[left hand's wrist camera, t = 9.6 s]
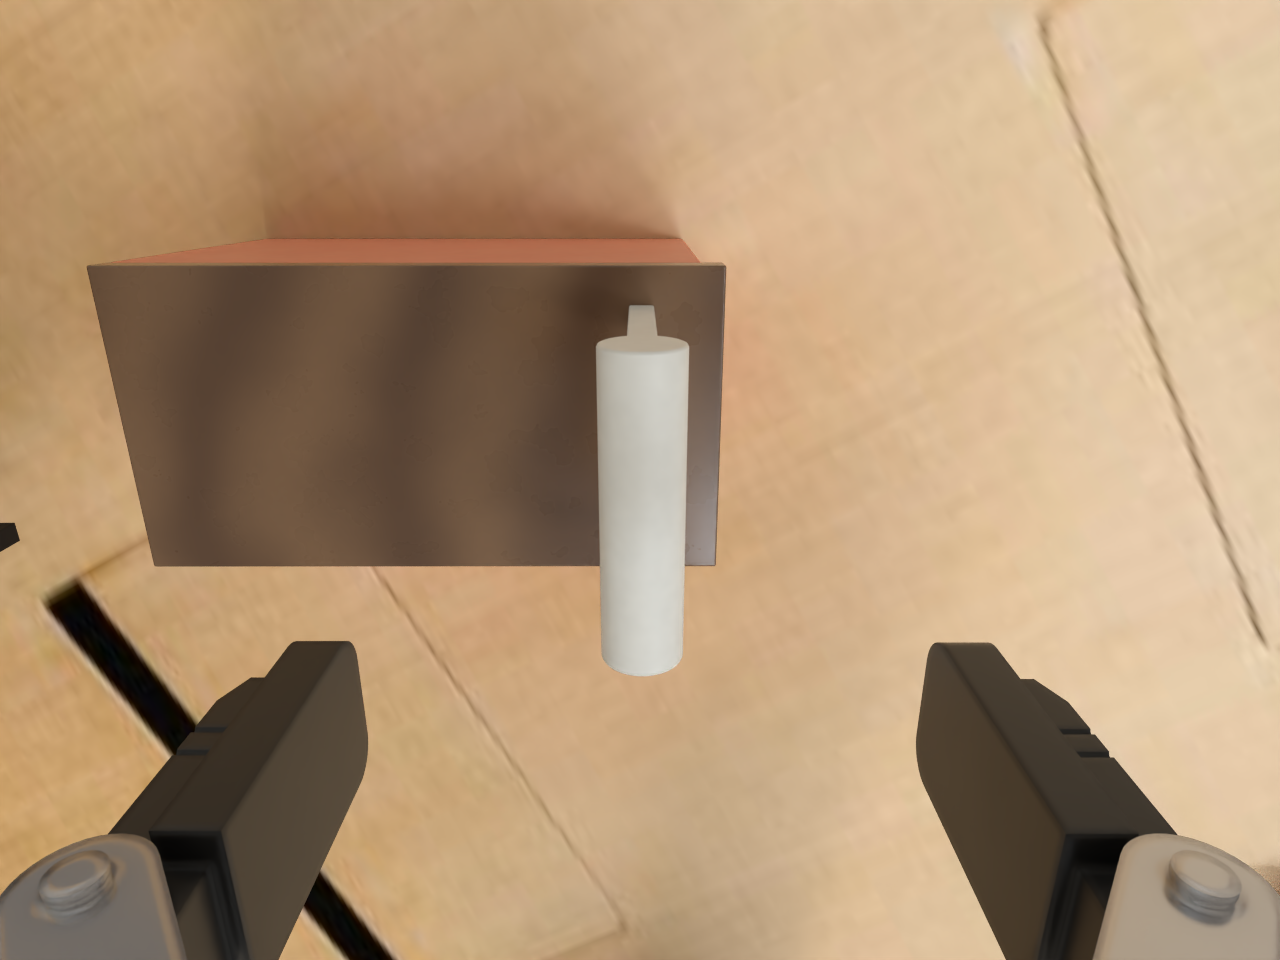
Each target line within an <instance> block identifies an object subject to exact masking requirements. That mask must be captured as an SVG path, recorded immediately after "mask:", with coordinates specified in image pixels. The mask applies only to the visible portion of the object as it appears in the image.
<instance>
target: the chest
mask: <svg viewBox="0 0 1280 960" xmlns="http://www.w3.org/2000/svg"><path fill="white" fill-rule="evenodd" d="M111 263H700V261H699V260H698V259H697V258H696V256H695V255H694V254H693V252H692V251H691V250H690V249H689V247H688V246H687V245H686V243H685V242H684V241H683V240H682V239H263V240H256V241H249V242H242V243H236V244H229V245H222V246H216V247H209V248H202V249H196V250H189V251H182V252H176V253H169V254H162V255H156V256H149V257H142V258H136V259H129V260H122V261H116V262H111Z"/></svg>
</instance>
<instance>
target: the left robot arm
mask: <svg viewBox="0 0 1280 960" xmlns="http://www.w3.org/2000/svg"><path fill="white" fill-rule="evenodd" d="M367 753H368V733H367V725H366V718H365V711H364V704H363V696H362V689H361V682H360V675H359V667H358V660H357V654H356V651H355V648H354V646H353V644H352V643H351V642H349V641H295V642H293V643H291V644H290V645H289V646H288V647H287V649H286V650H285V651H284V653H283V654H282V655H281V657H280V658H279V659H278V661H277V662H276V663H275V665H274V666H273V667H272V669H271V670H270V671H269V673H268V674H267V675H266V676H265V678H250V679H248V680H247V681H245V682H244V683H242V684H241V685H239V686H238V687H236V688H235V689H233V690H232V691H230V692H229V693H227V694H226V695H225V696H223V697H222V698H220V699H219V700H217V701H216V702H215V704H214V705H213V706H212V707H211V709H210V710H209V711H208V712H207V713H206V715H205V716H204V717H203V718H202V720H201V721H200V722H199V723H198V724H197V726H196V727H195V732H194V733H190V734H189V735H188V737H187V738H186V739H185V740H184V742H183V743H182V744H181V745H180V747H179V748H178V749H177V754H176V755H172V756H171V758H170V759H169V760H168V761H167V762H166V764H165V765H164V766H163V767H162V769H161V770H160V771H159V772H158V773H157V775H156V776H155V777H154V778H153V780H152V781H151V782H150V783H149V784H148V786H147V787H146V788H145V789H144V791H143V792H142V793H141V794H140V795H139V797H138V798H137V799H136V800H135V802H134V803H133V804H132V805H131V806H130V808H129V809H128V810H127V811H126V813H125V814H124V815H123V816H122V817H121V819H120V820H119V821H118V822H117V824H116V825H115V826H114V827H113V828H112V830H111V831H110V832H109V833H108V835H101V836H97V837H92V838H88V839H85V840H82V841H79V842H76V843H73V844H71V845H68V846H66V847H64V848H62V849H59V850H57V851H55V852H54V853H52V854H50V855H48V856H46V857H44V858H43V859H41V860H40V861H38V862H37V863H35V864H33V865H32V866H31V867H29V868H28V869H27V870H25V871H24V872H23V873H22V874H20V875H19V876H18V877H17V878H16V879H15V880H14V881H13V882H12V883H11V884H10V885H9V886H8V887H7V888H6V889H5V891H4V892H3V893H2V894H1V896H0V960H278V959H279V957H280V955H281V953H282V951H283V949H284V947H285V944H286V942H287V940H288V938H289V936H290V934H291V932H292V929H293V927H294V925H295V923H296V921H297V919H298V917H299V914H300V912H301V910H302V908H303V906H304V904H305V901H306V899H307V897H308V895H309V893H310V891H311V889H312V886H313V884H314V882H315V880H316V878H317V876H318V874H319V871H320V869H321V867H322V865H323V863H324V861H325V859H326V856H327V854H328V852H329V850H330V848H331V846H332V843H333V841H334V839H335V837H336V835H337V833H338V831H339V828H340V826H341V824H342V822H343V820H344V818H345V816H346V813H347V811H348V809H349V807H350V805H351V803H352V801H353V798H354V796H355V794H356V792H357V790H358V788H359V785H360V783H361V781H362V778H363V775H364V771H365V767H366V762H367ZM916 753H917V762H918V768H919V772H920V776H921V779H922V782H923V784H924V787H925V789H926V791H927V793H928V795H929V797H930V799H931V802H932V804H933V806H934V808H935V810H936V812H937V814H938V816H939V818H940V821H941V823H942V825H943V827H944V829H945V831H946V833H947V835H948V838H949V840H950V842H951V844H952V846H953V848H954V850H955V852H956V855H957V857H958V859H959V861H960V863H961V865H962V867H963V869H964V872H965V874H966V876H967V878H968V880H969V882H970V884H971V886H972V889H973V891H974V893H975V895H976V897H977V899H978V901H979V903H980V905H981V908H982V910H983V912H984V914H985V916H986V918H987V920H988V922H989V925H990V927H991V929H992V931H993V933H994V935H995V937H996V939H997V942H998V944H999V946H1000V948H1001V950H1002V952H1003V954H1004V956H1005V959H1006V960H1280V896H1279V894H1278V893H1277V892H1276V891H1275V889H1274V888H1273V887H1272V886H1271V885H1270V884H1269V883H1268V882H1267V881H1266V880H1265V879H1264V878H1263V877H1262V876H1261V875H1260V874H1258V873H1257V872H1256V871H1255V870H1253V869H1252V868H1251V867H1249V866H1248V865H1247V864H1245V863H1243V862H1242V861H1240V860H1239V859H1237V858H1236V857H1234V856H1232V855H1230V854H1228V853H1226V852H1225V851H1223V850H1221V849H1218V848H1216V847H1214V846H1212V845H1209V844H1207V843H1204V842H1201V841H1198V840H1195V839H1192V838H1188V837H1183V836H1179V835H1177V834H1176V832H1175V831H1174V830H1173V829H1172V828H1171V826H1170V825H1169V824H1168V823H1167V821H1166V820H1165V819H1164V818H1163V817H1162V815H1161V814H1160V813H1159V812H1158V811H1157V809H1156V808H1155V807H1154V806H1153V804H1152V803H1151V802H1150V801H1149V800H1148V798H1147V797H1146V796H1145V795H1144V794H1143V792H1142V791H1141V790H1140V789H1139V788H1138V786H1137V785H1136V784H1135V783H1134V781H1133V780H1132V779H1131V778H1130V777H1129V775H1128V774H1127V773H1126V772H1125V771H1124V769H1123V768H1122V767H1121V766H1120V764H1119V763H1118V762H1117V761H1116V760H1115V758H1110V756H1109V751H1108V750H1107V749H1106V748H1105V746H1104V745H1103V744H1102V743H1101V741H1100V740H1099V739H1098V738H1097V737H1096V735H1091V733H1090V728H1089V727H1088V726H1087V724H1086V723H1085V722H1084V721H1083V720H1082V718H1081V717H1080V716H1079V715H1078V714H1077V712H1076V711H1075V710H1074V709H1073V707H1072V706H1071V705H1070V704H1069V703H1068V702H1067V701H1066V700H1064V699H1063V698H1061V697H1060V696H1058V695H1057V694H1055V693H1054V692H1052V691H1051V690H1049V689H1048V688H1046V687H1045V686H1043V685H1042V684H1040V683H1039V682H1037V681H1036V680H1034V679H1020V678H1019V677H1018V675H1017V674H1016V673H1015V671H1014V670H1013V669H1012V667H1011V666H1010V665H1009V664H1008V662H1007V661H1006V660H1005V658H1004V657H1003V656H1002V654H1001V653H1000V652H999V651H998V649H997V648H996V647H995V646H994V645H993V644H991V643H934V644H933V645H932V646H931V648H930V650H929V653H928V658H927V664H926V671H925V678H924V685H923V693H922V700H921V707H920V714H919V721H918V728H917V736H916Z"/></svg>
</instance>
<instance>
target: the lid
mask: <svg viewBox="0 0 1280 960" xmlns="http://www.w3.org/2000/svg"><path fill="white" fill-rule="evenodd" d="M87 270H88V275H89V279H90V283H91V288H92V292H93V297H94V301H95V306H96V310H97V314H98V319H99V323H100V328H101V332H102V336H103V341H104V345H105V350H106V354H107V358H108V363H109V367H110V372H111V376H112V381H113V385H114V389H115V394H116V398H117V403H118V407H119V411H120V416H121V420H122V425H123V429H124V434H125V438H126V442H127V447H128V451H129V456H130V460H131V464H132V469H133V473H134V478H135V482H136V486H137V491H138V495H139V500H140V504H141V509H142V513H143V517H144V522H145V526H146V531H147V535H148V539H149V544H150V548H151V553H152V557H153V561H154V565H155V566H600V594H601V648H602V657H603V659H604V661H605V663H606V664H607V665H608V666H609V667H611V668H612V669H614V670H616V671H618V672H620V673H623V674H627V675H632V676H652V675H658V674H661V673H664V672H667V671H669V670H671V669H672V668H674V667H675V666H676V665H677V664H678V663H679V662H680V660H681V658H682V655H683V619H684V571H685V566H715V565H716V542H717V514H718V486H719V457H720V429H721V401H722V373H723V344H724V316H725V288H726V266H725V265H724V264H723V263H102V264H95V265H89V266H87Z"/></svg>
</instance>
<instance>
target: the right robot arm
mask: <svg viewBox="0 0 1280 960" xmlns="http://www.w3.org/2000/svg"><path fill="white" fill-rule="evenodd" d="M18 541H20V540H19V536H18V533H17V529H16V526H15V523H0V552H1V551H3V550H4V549H6V548H8V547H9V546H11V545H13V544H15V543H16V542H18Z"/></svg>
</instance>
